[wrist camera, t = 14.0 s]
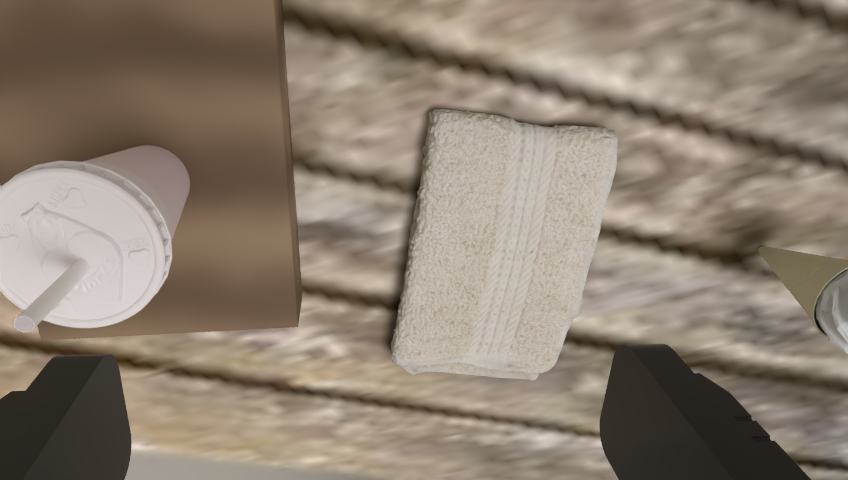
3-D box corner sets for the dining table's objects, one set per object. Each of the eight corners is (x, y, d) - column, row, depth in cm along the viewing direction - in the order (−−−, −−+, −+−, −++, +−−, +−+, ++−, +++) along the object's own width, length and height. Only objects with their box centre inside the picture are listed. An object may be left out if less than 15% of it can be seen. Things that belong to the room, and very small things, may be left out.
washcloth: (385, 357, 41) (389, 383, 38) (423, 100, 35) (430, 108, 32) (545, 366, 43) (559, 391, 40) (607, 124, 37) (629, 134, 34)
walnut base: (-2, -10, 29) (-52, -13, 26) (281, -5, 31) (273, -7, 27) (72, 306, 36) (41, 340, 32) (302, 295, 38) (297, 326, 34)
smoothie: (146, 260, 31) (10, 435, 19) (55, 163, 29) (-173, 287, 16) (242, 196, 31) (172, 331, 18) (158, 92, 28) (7, 162, 16)
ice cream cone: (714, 271, 41) (902, 404, 28) (750, 206, 40) (968, 312, 26) (770, 289, 42) (977, 424, 29) (808, 226, 41) (1045, 338, 27)
